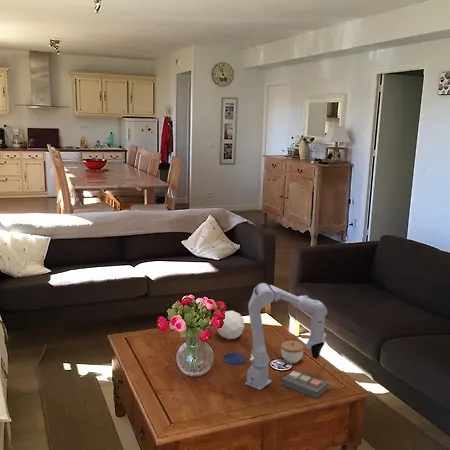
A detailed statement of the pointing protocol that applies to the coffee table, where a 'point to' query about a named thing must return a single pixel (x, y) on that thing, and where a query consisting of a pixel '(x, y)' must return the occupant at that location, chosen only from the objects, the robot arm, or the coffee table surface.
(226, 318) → the geometric shape
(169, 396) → the coffee table surface
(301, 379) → the sage key
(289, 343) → the lidded jar
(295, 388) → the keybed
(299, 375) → the ivory key
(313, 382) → the pink block
